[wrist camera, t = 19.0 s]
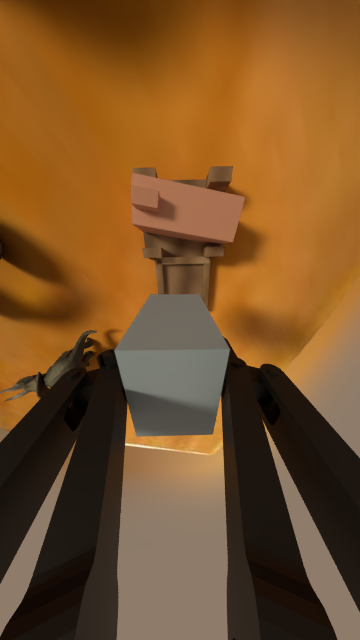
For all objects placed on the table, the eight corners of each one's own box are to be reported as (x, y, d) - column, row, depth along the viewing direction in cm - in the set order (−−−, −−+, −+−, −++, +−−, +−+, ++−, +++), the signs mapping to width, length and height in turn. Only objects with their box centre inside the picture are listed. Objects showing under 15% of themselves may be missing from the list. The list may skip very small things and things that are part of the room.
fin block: (155, 349, 17) (136, 436, 9) (150, 294, 14) (114, 350, 6) (195, 349, 17) (212, 434, 9) (199, 294, 14) (229, 349, 6)
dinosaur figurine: (101, 319, 33) (67, 348, 23) (125, 344, 36) (105, 379, 26) (43, 358, 37) (-7, 396, 27) (68, 376, 40) (32, 417, 30)
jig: (153, 309, 32) (149, 317, 28) (139, 183, 22) (130, 168, 18) (212, 307, 32) (218, 315, 28) (224, 182, 22) (234, 166, 18)
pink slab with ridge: (143, 231, 24) (126, 220, 16) (144, 196, 22) (126, 161, 14) (218, 245, 25) (238, 240, 17) (226, 212, 23) (253, 190, 15)
